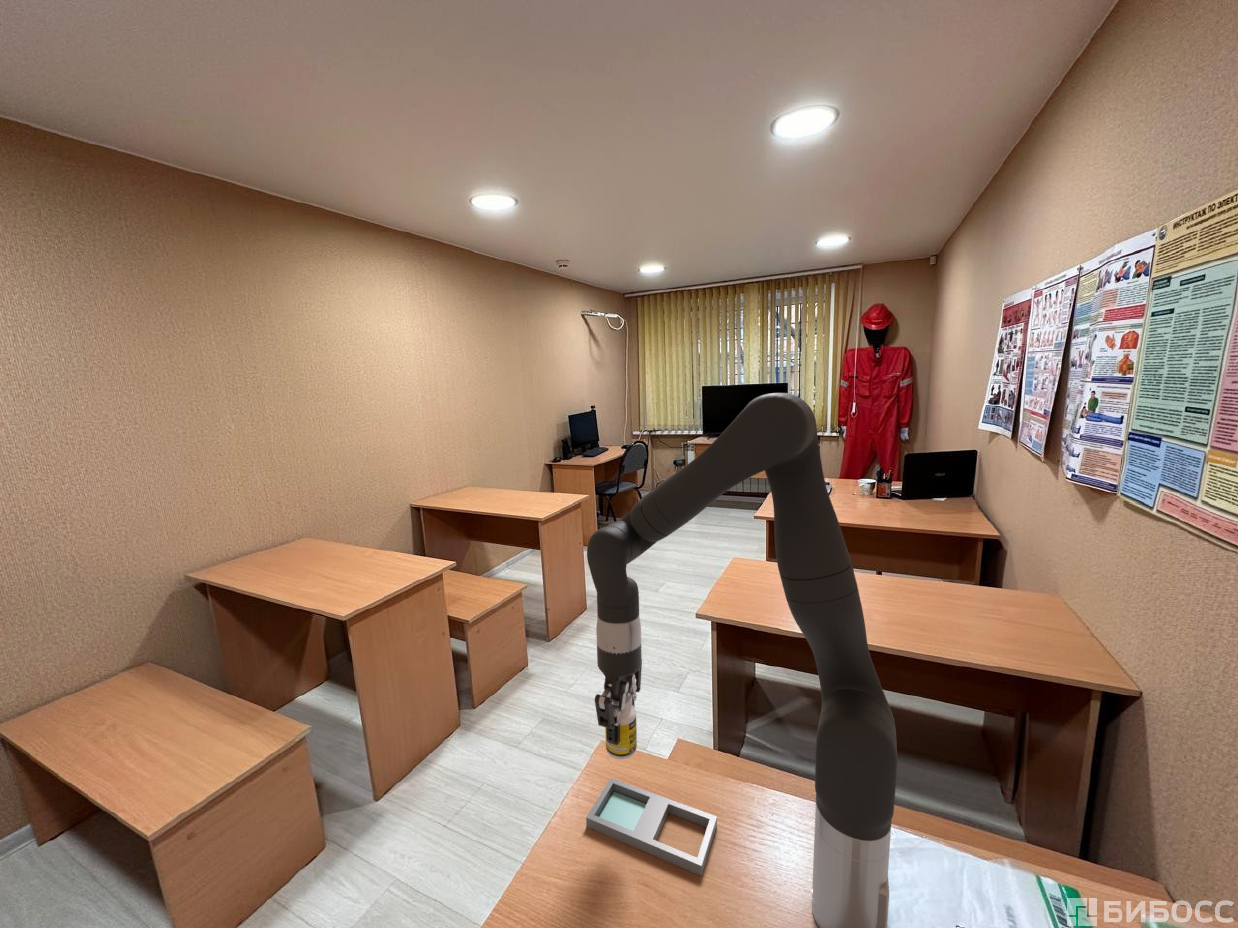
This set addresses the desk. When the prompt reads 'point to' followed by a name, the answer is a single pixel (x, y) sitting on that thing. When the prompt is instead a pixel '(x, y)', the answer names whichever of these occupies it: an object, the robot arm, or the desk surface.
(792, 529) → the robot arm
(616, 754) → the supplement bottle
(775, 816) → the desk surface
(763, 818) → the desk surface
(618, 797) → the frame
